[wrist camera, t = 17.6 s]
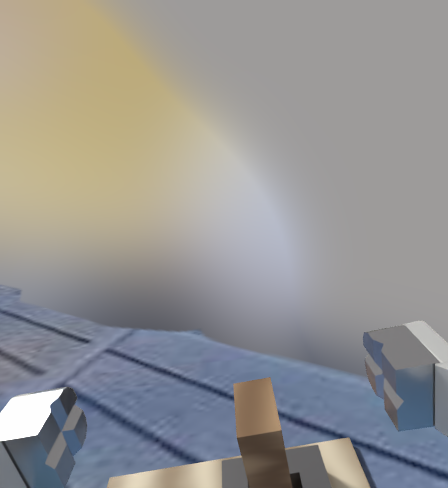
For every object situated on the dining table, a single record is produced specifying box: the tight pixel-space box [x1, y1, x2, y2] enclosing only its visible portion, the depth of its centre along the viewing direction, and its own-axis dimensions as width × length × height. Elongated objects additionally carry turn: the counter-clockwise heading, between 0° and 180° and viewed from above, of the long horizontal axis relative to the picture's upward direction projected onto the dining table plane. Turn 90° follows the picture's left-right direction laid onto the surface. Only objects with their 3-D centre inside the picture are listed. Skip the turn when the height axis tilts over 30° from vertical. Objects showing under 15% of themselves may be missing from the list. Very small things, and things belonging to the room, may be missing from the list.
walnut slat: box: [234, 377, 292, 488], centre depth 27 cm, size 3×5×16 cm, turn 1°
